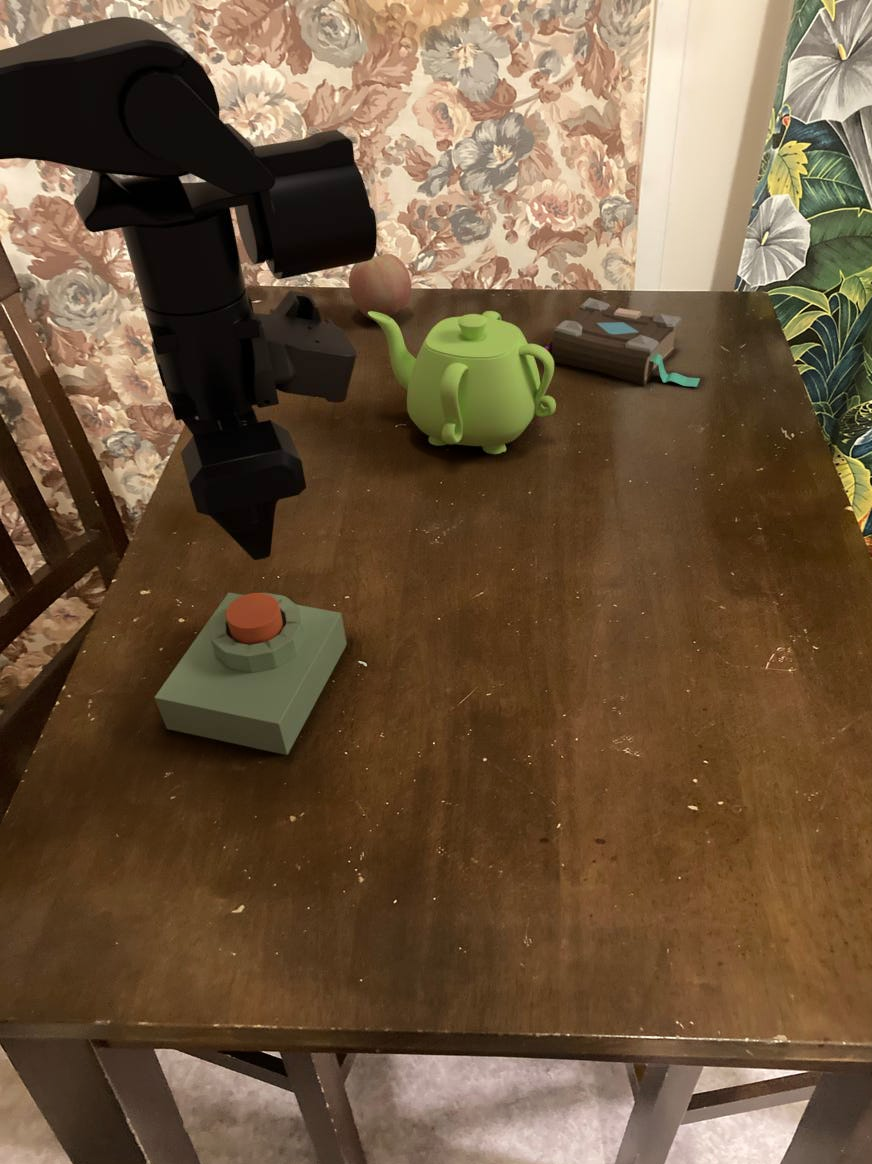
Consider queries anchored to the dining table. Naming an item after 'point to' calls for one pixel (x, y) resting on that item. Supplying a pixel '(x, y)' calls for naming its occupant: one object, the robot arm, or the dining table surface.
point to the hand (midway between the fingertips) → (248, 517)
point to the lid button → (254, 618)
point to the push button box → (253, 678)
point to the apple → (380, 285)
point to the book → (617, 343)
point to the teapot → (471, 380)
